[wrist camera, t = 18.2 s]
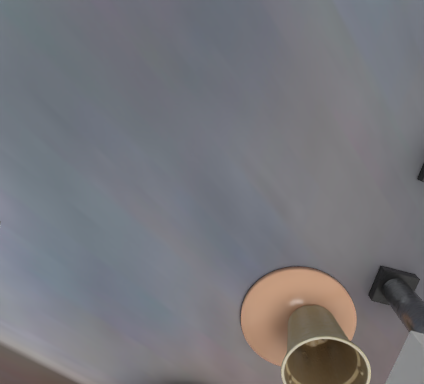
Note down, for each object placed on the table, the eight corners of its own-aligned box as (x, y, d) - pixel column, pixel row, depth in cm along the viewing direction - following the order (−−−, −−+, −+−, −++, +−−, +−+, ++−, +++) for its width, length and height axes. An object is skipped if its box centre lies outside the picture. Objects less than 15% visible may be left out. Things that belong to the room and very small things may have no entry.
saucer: (257, 253, 44) (258, 257, 43) (371, 283, 44) (373, 287, 43) (229, 347, 48) (228, 352, 47) (332, 375, 48) (334, 380, 47)
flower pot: (265, 343, 46) (270, 396, 38) (286, 284, 44) (296, 326, 35) (333, 362, 46) (352, 419, 38) (358, 303, 44) (384, 351, 35)
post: (380, 265, 43) (443, 341, 29) (415, 274, 43) (493, 354, 29) (368, 295, 44) (423, 380, 31) (401, 304, 44) (471, 393, 31)
